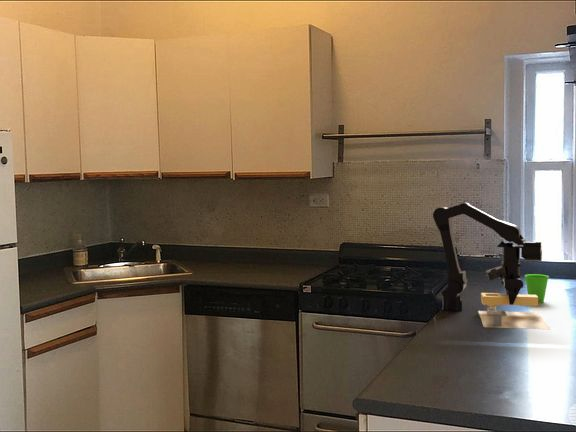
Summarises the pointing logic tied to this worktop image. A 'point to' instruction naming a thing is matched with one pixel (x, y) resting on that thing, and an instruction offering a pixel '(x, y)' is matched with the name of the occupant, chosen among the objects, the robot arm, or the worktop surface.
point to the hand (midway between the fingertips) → (510, 303)
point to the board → (516, 320)
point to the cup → (537, 285)
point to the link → (504, 299)
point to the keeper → (496, 316)
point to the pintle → (491, 307)
